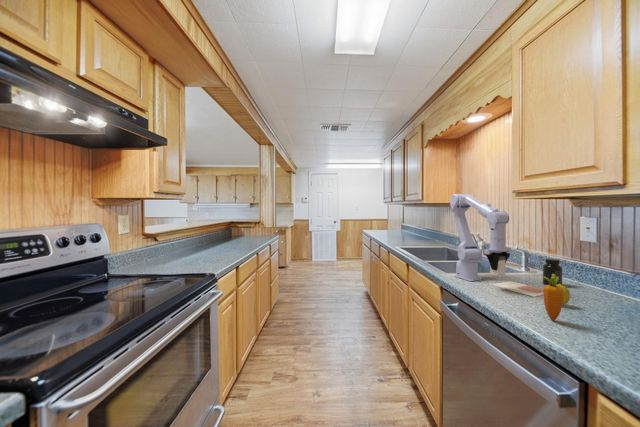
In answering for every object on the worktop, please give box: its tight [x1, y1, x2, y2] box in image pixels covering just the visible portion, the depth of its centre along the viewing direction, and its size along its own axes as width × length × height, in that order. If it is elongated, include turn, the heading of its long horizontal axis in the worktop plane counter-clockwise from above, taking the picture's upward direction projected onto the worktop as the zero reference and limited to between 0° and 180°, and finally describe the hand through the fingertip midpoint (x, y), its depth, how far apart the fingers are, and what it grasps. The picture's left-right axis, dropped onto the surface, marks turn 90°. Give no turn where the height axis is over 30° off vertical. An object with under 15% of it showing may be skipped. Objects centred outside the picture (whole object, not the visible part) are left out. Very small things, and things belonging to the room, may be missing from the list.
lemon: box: [556, 284, 571, 305], centre depth 99 cm, size 6×6×8 cm
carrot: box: [542, 274, 564, 322], centre depth 85 cm, size 5×5×15 cm
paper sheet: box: [491, 280, 544, 298], centre depth 118 cm, size 18×13×1 cm
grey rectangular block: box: [489, 256, 506, 276], centre depth 118 cm, size 4×4×8 cm
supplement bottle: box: [542, 258, 563, 286], centre depth 123 cm, size 7×7×12 cm
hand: (497, 269), depth 118 cm, fingers closed on grey rectangular block, 4 cm apart
